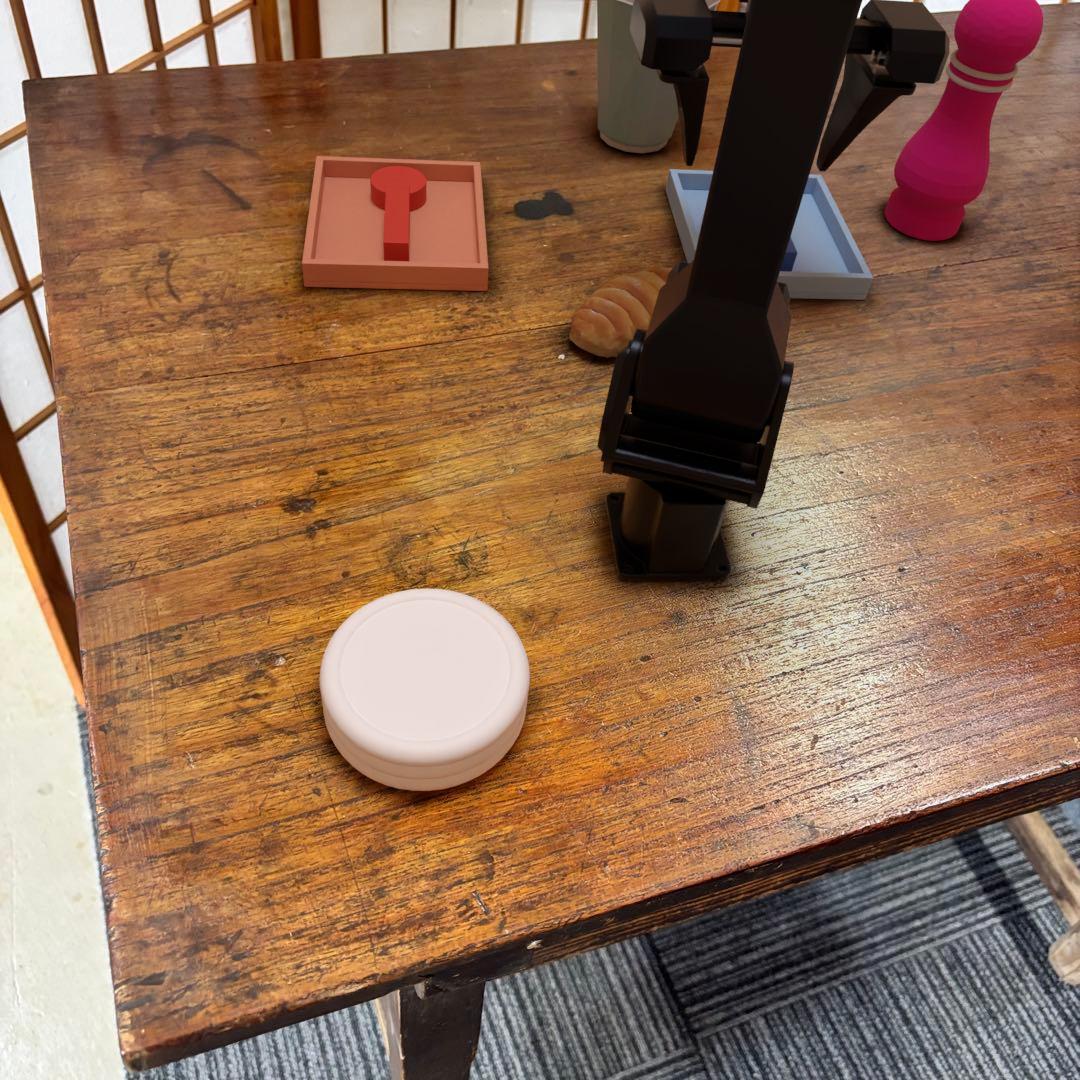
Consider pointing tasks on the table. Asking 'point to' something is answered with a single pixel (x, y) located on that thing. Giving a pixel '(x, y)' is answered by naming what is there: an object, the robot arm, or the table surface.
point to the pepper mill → (962, 119)
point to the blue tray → (818, 236)
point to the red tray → (358, 228)
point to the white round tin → (424, 688)
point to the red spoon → (397, 206)
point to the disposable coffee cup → (630, 86)
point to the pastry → (617, 311)
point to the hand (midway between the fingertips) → (754, 165)
